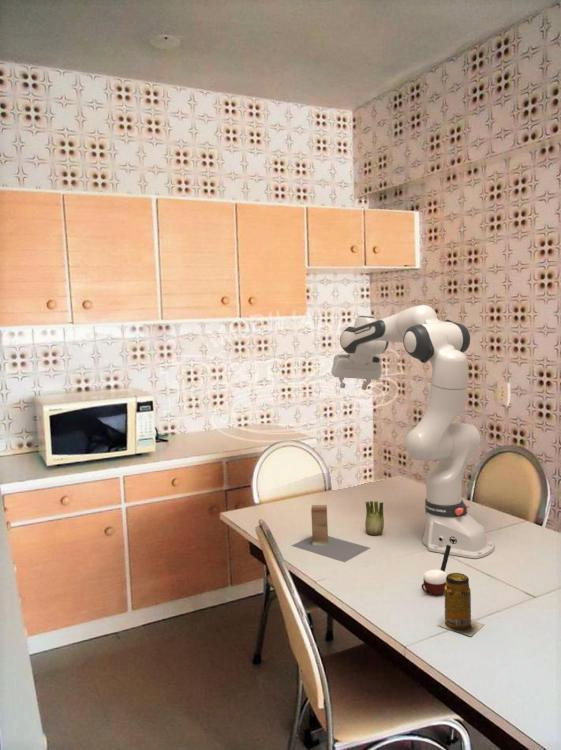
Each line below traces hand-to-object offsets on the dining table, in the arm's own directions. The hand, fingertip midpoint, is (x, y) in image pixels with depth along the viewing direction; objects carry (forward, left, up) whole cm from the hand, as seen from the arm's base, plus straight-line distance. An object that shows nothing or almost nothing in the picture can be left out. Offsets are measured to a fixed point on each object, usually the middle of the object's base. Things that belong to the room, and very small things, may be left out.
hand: (353, 388), depth 243 cm
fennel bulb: (-29, +29, -46) cm, 62 cm away
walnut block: (-19, +46, -45) cm, 67 cm away
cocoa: (-66, +54, -46) cm, 97 cm away
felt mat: (-24, +47, -46) cm, 70 cm away
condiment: (-79, +66, -46) cm, 113 cm away
